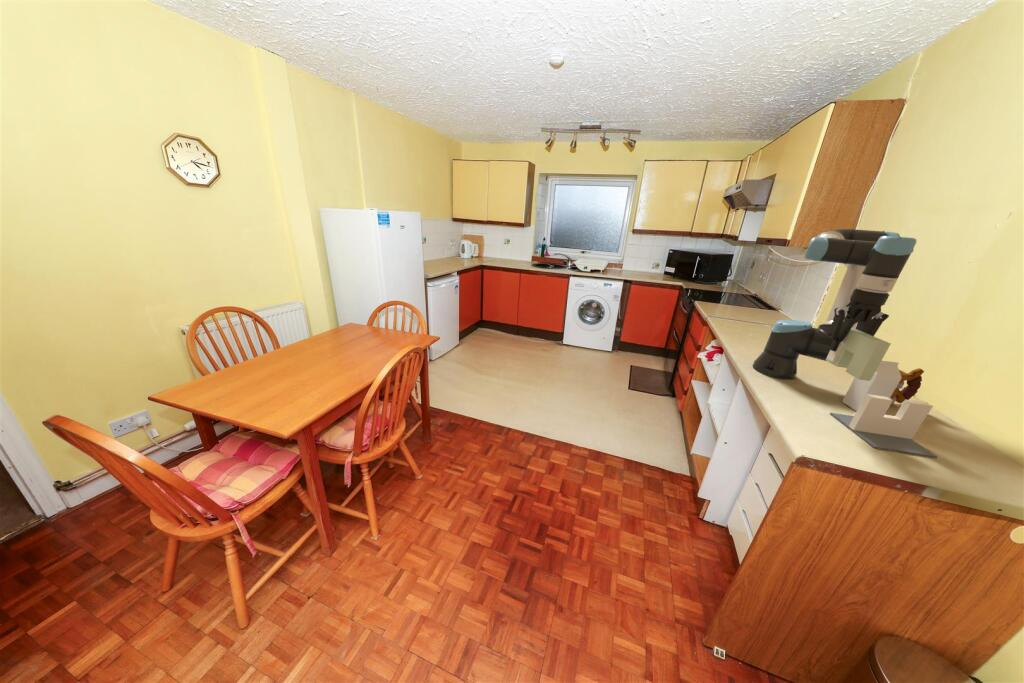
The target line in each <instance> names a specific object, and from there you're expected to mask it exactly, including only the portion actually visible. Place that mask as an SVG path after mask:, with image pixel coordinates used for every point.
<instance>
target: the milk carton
mask: <svg viewBox="0 0 1024 683" xmlns="http://www.w3.org/2000/svg"><path fill="white" fill-rule="evenodd" d="M899 364H900V363H899V362H897V361H889V360H882V361H881V362H880V364H879V366H878V368H877V370H876V371H875V373H874V375H873V377H872V379H871V380H870V381H866V380H859V379H857V378H855V377H854V378H853V380H852V382H851V384H850V386H849V387H848V389H847V391H846V393H845V395H844V397H843V399H842V403H844V404H845V405H847V406H848V407H849V408H851V409H852V410H854V411H855V413H856V412H857V410H858V408H859V406H860V405H861V403H862V401H863V399H864V397H865V396H866V394H870V395H877V396H884V397H888V398H890V397H891V395H892V394H893V392H894V390H895V388H896V387H897V385H898V383H899V382H900V380H901V378H902V377H901V374H900V372H899V370H900V369H899Z"/></svg>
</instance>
